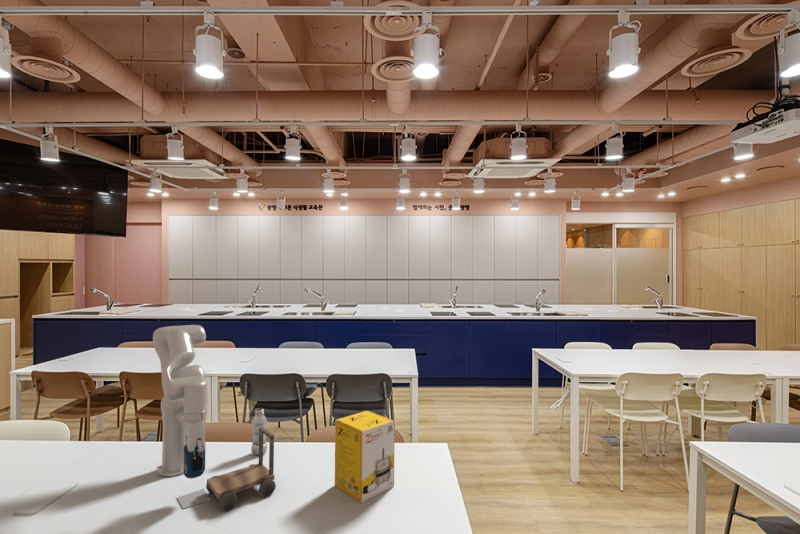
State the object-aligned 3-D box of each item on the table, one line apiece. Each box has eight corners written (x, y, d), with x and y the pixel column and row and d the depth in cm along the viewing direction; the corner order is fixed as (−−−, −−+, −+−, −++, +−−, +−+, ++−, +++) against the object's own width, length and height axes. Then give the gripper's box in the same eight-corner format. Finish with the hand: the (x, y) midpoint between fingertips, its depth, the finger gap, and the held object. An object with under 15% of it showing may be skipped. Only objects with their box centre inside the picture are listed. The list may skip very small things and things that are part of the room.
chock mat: (176, 498, 144) (176, 497, 144) (203, 489, 150) (203, 488, 150) (183, 509, 138) (183, 508, 138) (210, 499, 144) (210, 499, 144)
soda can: (209, 470, 147) (209, 437, 147) (197, 479, 140) (198, 445, 141) (191, 469, 148) (191, 436, 148) (179, 478, 141) (179, 444, 141)
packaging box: (367, 471, 165) (367, 410, 166) (394, 486, 154) (394, 420, 154) (334, 485, 154) (335, 420, 155) (361, 502, 142) (361, 431, 143)
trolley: (219, 514, 135) (220, 452, 136) (205, 494, 147) (206, 437, 148) (276, 493, 148) (276, 437, 149) (258, 476, 160) (259, 424, 161)
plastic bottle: (262, 457, 177) (262, 412, 177) (248, 456, 178) (248, 411, 179) (269, 451, 183) (270, 407, 184) (256, 450, 185) (256, 406, 185)
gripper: (177, 411, 149) (177, 460, 148) (190, 424, 136) (189, 478, 135) (199, 407, 154) (199, 454, 153) (213, 419, 141) (212, 471, 140)
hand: (194, 465), depth 144 cm, fingers closed on soda can, 6 cm apart
